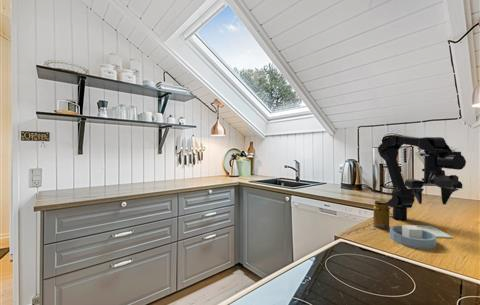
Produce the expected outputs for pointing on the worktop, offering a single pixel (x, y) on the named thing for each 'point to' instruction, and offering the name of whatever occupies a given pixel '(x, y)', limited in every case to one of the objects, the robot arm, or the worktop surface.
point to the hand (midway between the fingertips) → (432, 204)
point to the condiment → (381, 215)
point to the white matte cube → (411, 231)
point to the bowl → (413, 239)
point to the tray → (434, 231)
